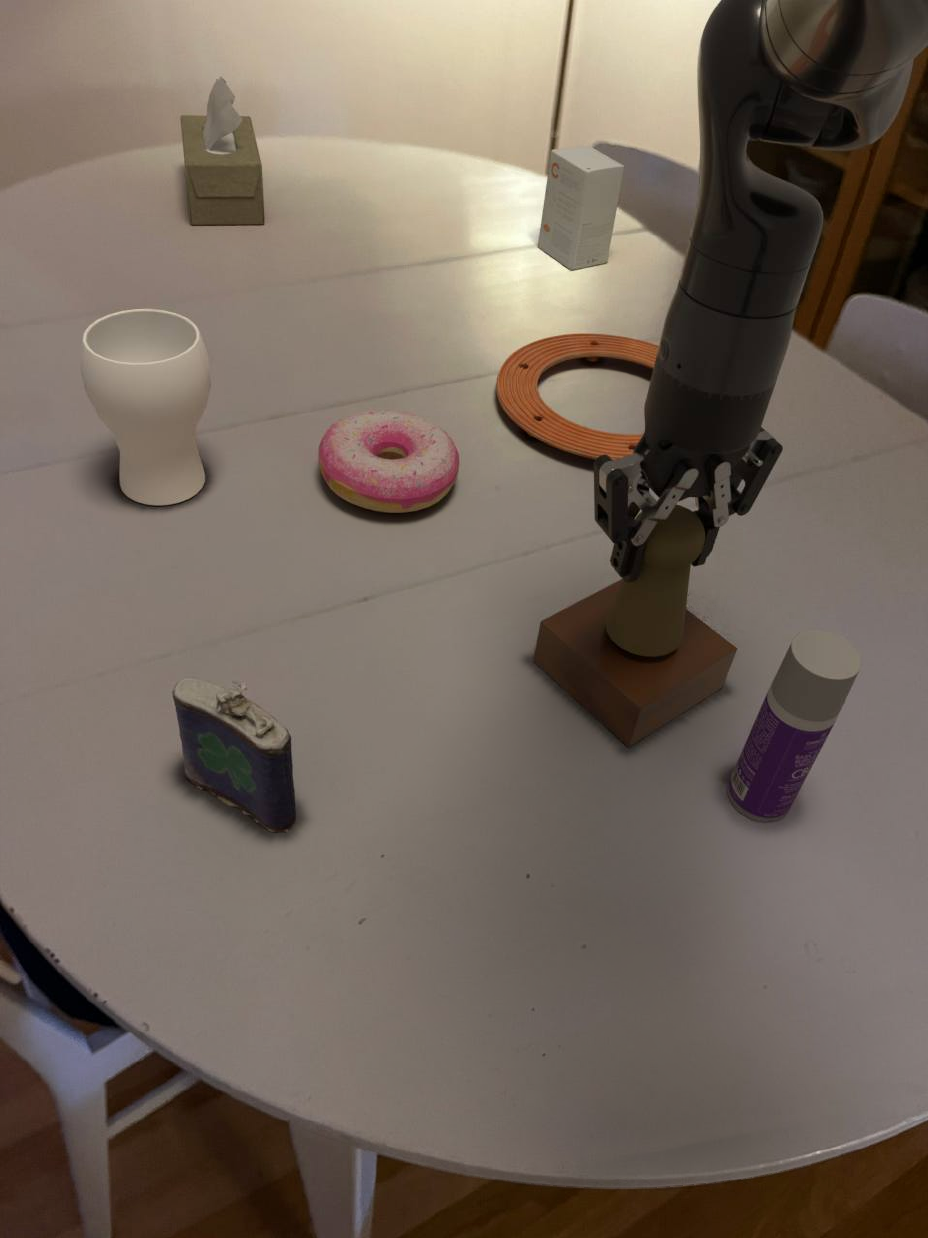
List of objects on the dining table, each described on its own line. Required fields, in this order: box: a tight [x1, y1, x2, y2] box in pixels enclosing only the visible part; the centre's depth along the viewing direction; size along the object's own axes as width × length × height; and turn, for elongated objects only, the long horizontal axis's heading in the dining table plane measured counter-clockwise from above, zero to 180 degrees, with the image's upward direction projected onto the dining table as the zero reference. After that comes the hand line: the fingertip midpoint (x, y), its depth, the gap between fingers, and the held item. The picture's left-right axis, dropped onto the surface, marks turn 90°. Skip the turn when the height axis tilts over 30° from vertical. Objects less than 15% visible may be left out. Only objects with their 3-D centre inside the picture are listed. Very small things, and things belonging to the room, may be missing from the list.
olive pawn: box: [605, 504, 705, 657], centre depth 75 cm, size 6×6×11 cm
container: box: [726, 629, 862, 823], centre depth 70 cm, size 5×5×15 cm
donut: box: [317, 409, 460, 514], centre depth 97 cm, size 14×13×5 cm
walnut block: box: [532, 578, 738, 748], centre depth 81 cm, size 11×11×4 cm
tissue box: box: [179, 76, 266, 226], centre depth 138 cm, size 19×10×16 cm, turn 13°
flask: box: [171, 677, 298, 833], centre depth 67 cm, size 9×3×11 cm, turn 58°
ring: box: [495, 332, 659, 461], centre depth 111 cm, size 25×25×2 cm
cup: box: [80, 308, 212, 506], centre depth 91 cm, size 11×11×15 cm
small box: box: [537, 144, 625, 271], centre depth 135 cm, size 8×6×13 cm
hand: (658, 565), depth 75 cm, fingers closed on olive pawn, 5 cm apart
